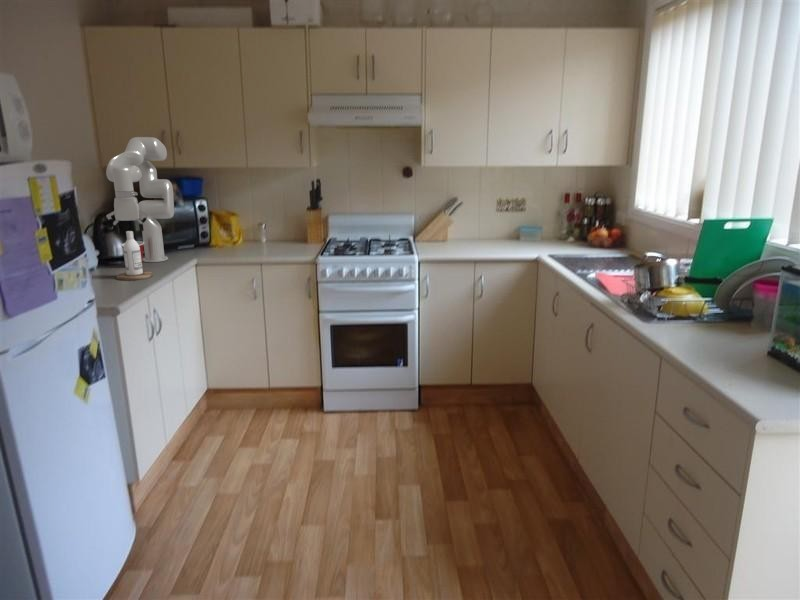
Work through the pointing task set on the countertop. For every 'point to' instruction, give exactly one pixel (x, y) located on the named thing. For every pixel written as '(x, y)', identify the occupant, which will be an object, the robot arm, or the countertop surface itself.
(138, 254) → the bath foam
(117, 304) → the countertop surface
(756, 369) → the countertop surface
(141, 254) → the plastic cup
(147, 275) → the coaster
